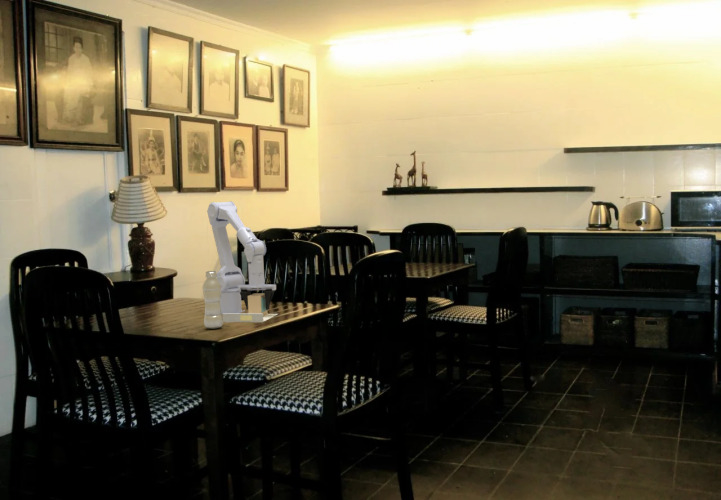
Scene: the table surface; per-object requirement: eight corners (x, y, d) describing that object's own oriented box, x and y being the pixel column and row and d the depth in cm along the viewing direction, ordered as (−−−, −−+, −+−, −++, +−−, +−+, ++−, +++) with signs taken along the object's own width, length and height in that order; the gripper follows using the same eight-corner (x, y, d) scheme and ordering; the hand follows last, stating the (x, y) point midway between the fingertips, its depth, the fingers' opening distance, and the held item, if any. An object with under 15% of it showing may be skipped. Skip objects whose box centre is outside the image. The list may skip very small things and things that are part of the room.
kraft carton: (248, 317, 274) (247, 296, 273) (255, 314, 280) (254, 293, 280) (261, 317, 272) (260, 296, 272) (268, 314, 279) (267, 293, 279)
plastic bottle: (214, 326, 260) (212, 270, 259) (227, 327, 256) (224, 271, 255) (200, 329, 255) (197, 272, 254) (212, 330, 251) (209, 272, 250)
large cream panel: (222, 323, 265) (222, 313, 265) (241, 315, 283) (241, 306, 282) (262, 323, 262) (261, 313, 262) (278, 315, 280) (278, 306, 279)
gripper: (234, 274, 273) (235, 311, 274) (271, 274, 270) (272, 310, 271) (241, 272, 280) (242, 308, 281) (277, 272, 277) (278, 307, 278)
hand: (257, 309), depth 276 cm, fingers open, 7 cm apart
